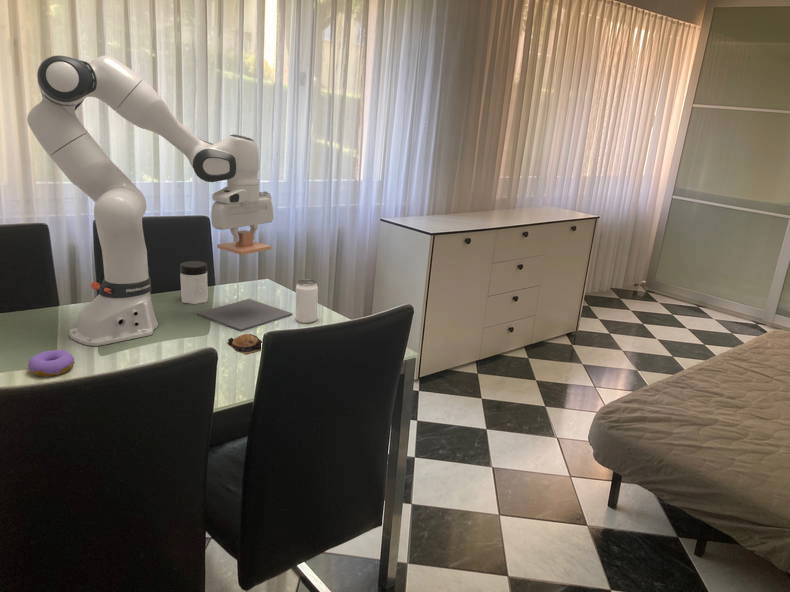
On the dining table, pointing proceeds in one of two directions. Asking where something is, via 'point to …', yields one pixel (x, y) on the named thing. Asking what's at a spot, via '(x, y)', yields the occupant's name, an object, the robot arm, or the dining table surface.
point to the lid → (244, 244)
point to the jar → (194, 282)
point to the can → (306, 301)
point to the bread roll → (245, 343)
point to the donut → (51, 363)
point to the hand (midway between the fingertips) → (244, 240)
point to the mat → (244, 314)
